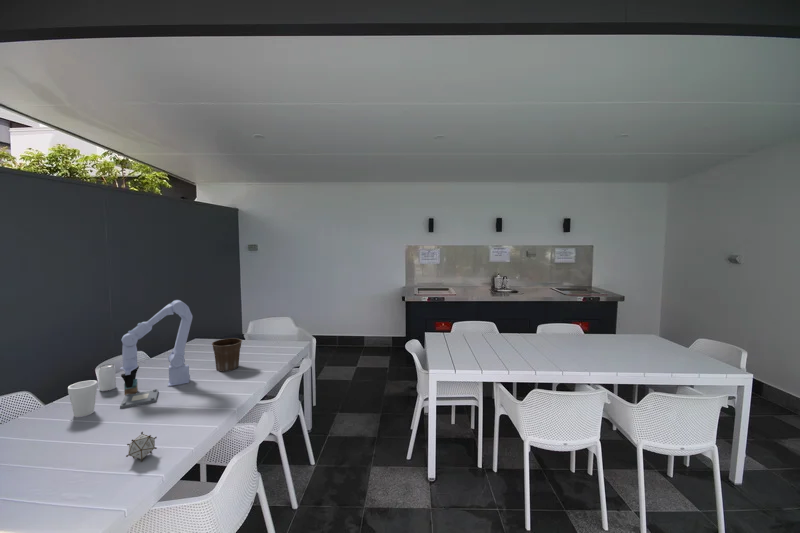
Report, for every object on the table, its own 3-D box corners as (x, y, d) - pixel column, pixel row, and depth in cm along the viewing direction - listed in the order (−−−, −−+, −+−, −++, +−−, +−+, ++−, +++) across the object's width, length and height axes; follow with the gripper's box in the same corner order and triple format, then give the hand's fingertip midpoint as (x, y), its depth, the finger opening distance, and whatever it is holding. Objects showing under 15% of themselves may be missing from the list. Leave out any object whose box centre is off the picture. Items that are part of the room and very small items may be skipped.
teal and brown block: (137, 390, 171) (137, 378, 171) (136, 393, 167) (135, 381, 167) (126, 392, 169) (125, 380, 169) (124, 395, 165) (124, 383, 165)
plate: (158, 391, 169) (158, 388, 169) (155, 401, 158) (155, 398, 158) (125, 397, 163) (125, 393, 162) (120, 408, 151) (119, 404, 151)
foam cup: (103, 410, 150) (102, 381, 149) (78, 420, 141) (76, 390, 140) (89, 407, 153) (88, 379, 152) (64, 416, 144) (62, 387, 143)
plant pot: (244, 369, 201) (244, 342, 200) (214, 375, 192) (213, 347, 191) (240, 361, 214) (239, 336, 213) (211, 366, 205) (210, 340, 204)
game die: (140, 466, 118) (140, 435, 122) (163, 456, 118) (163, 426, 123) (118, 468, 110) (119, 436, 114) (143, 458, 110) (143, 426, 115)
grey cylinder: (106, 392, 168) (105, 368, 168) (95, 391, 170) (94, 367, 169) (119, 387, 175) (118, 364, 174) (109, 385, 176) (108, 363, 175)
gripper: (122, 354, 171) (123, 381, 172) (116, 363, 159) (117, 391, 160) (139, 352, 175) (140, 378, 176) (135, 360, 162) (136, 388, 163)
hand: (130, 384), depth 168 cm, fingers open, 7 cm apart
